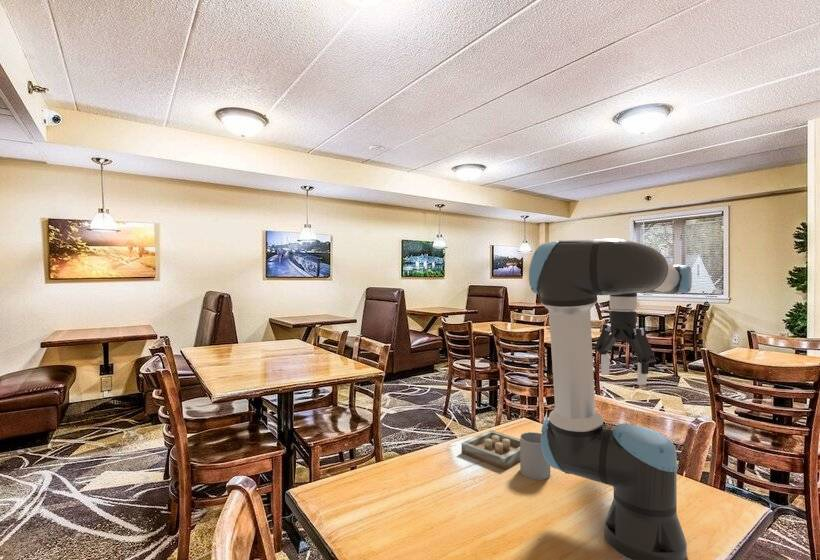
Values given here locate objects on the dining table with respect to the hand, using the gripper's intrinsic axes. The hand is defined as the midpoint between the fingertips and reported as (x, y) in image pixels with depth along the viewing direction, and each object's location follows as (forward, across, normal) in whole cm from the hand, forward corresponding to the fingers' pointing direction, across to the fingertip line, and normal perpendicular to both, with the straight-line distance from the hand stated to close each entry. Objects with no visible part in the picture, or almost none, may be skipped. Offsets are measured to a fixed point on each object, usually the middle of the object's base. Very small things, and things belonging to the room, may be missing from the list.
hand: (622, 379), depth 128 cm
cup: (+25, +2, +31) cm, 40 cm away
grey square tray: (+25, +17, +34) cm, 45 cm away
